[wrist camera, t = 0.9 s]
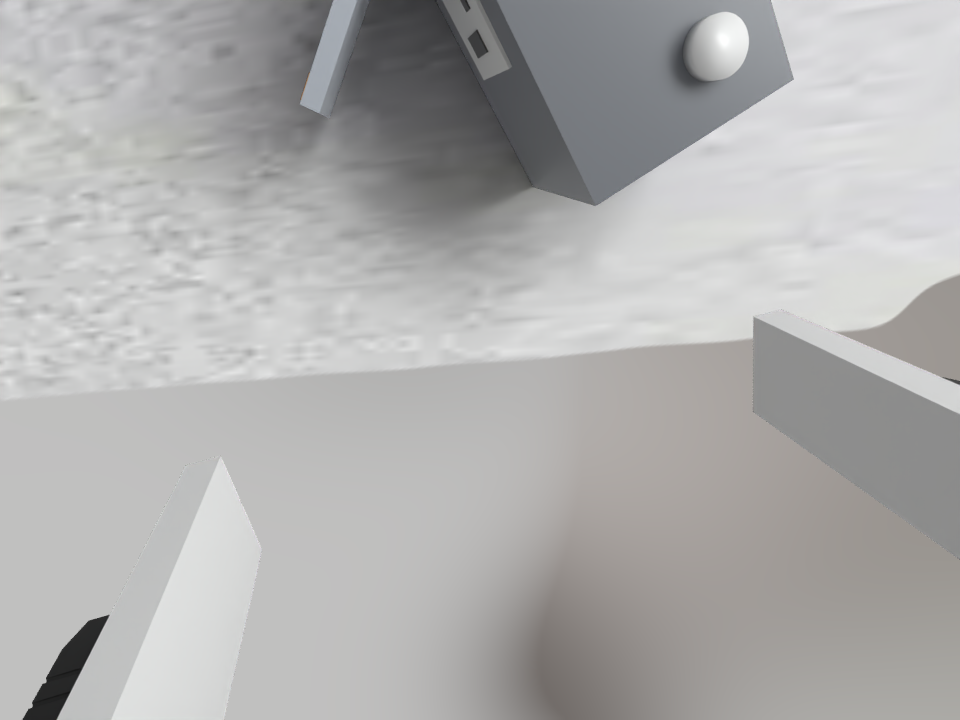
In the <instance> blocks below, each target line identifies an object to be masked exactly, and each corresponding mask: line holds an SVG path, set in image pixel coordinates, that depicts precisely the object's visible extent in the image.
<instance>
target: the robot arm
mask: <svg viewBox="0 0 960 720" xmlns="http://www.w3.org/2000/svg"><path fill="white" fill-rule="evenodd" d="M753 412H754V413H755V414H757V415H758V416H759V417H761V418H762V419H764V420H765V421H766V422H768V423H769V424H771V425H772V426H773V427H775V428H776V429H778V430H779V431H780V432H782V433H783V434H785V435H786V436H787V437H789V438H790V439H792V440H793V441H794V442H796V443H797V444H799V445H800V446H801V447H803V448H804V449H806V450H807V451H808V452H810V453H811V454H813V455H814V456H816V457H817V458H819V459H820V460H821V461H822V462H824V463H825V464H827V465H828V466H829V467H831V468H832V469H834V470H835V471H836V472H838V473H839V474H841V475H842V476H843V477H845V478H846V479H848V480H849V481H851V482H852V483H853V484H855V485H856V486H857V487H859V488H860V489H862V490H863V491H864V492H866V493H867V494H869V495H870V496H871V497H873V498H874V499H876V500H877V501H878V502H880V503H881V504H883V505H884V506H885V507H887V508H888V509H890V510H891V511H893V512H894V513H895V514H897V515H898V516H899V517H901V518H902V519H904V520H905V521H906V522H908V523H909V524H911V525H912V526H913V527H915V528H916V529H918V530H919V531H920V532H922V533H923V534H924V535H926V536H927V537H929V538H930V539H931V540H933V541H934V542H936V543H937V544H938V545H940V546H941V547H943V548H944V549H946V550H947V551H948V552H950V553H951V554H953V555H954V556H955V557H957V558H958V559H959V560H960V381H957V380H953V379H948V378H944V377H939V376H937V375H935V374H932V373H930V372H928V371H925V370H923V369H921V368H918V367H916V366H914V365H911V364H909V363H906V362H904V361H902V360H899V359H897V358H895V357H892V356H890V355H888V354H885V353H883V352H880V351H878V350H876V349H874V348H871V347H869V346H866V345H864V344H862V343H859V342H857V341H855V340H852V339H850V338H848V337H845V336H843V335H841V334H838V333H836V332H834V331H831V330H829V329H827V328H824V327H822V326H820V325H817V324H815V323H812V322H810V321H808V320H805V319H803V318H801V317H798V316H796V315H794V314H791V313H789V312H787V311H784V310H782V309H781V310H777V311H773V312H769V313H765V314H762V315H758V316H754V326H753ZM261 553H262V548H261V546H260V544H259V541H258V539H257V537H256V534H255V532H254V530H253V528H252V525H251V523H250V521H249V519H248V516H247V514H246V512H245V510H244V508H243V505H242V503H241V501H240V498H239V496H238V494H237V492H236V489H235V487H234V485H233V483H232V480H231V479H230V476H229V474H228V471H227V469H226V467H225V465H224V462H223V460H222V458H221V456H219V457H215V458H211V459H208V460H203V461H200V462H196V463H192V464H188V465H186V466H185V468H184V470H183V472H182V474H181V476H180V478H179V480H178V482H177V484H176V486H175V488H174V490H173V492H172V494H171V496H170V498H169V499H168V502H167V503H166V506H165V508H164V509H163V511H162V513H161V515H160V517H159V519H158V521H157V523H156V525H155V527H154V529H153V531H152V533H151V535H150V537H149V539H148V541H147V543H146V545H145V547H144V549H143V551H142V553H141V555H140V557H139V559H138V561H137V563H136V564H135V566H134V569H133V570H132V572H131V574H130V576H129V579H128V580H127V582H126V584H125V586H124V588H123V590H122V592H121V594H120V596H119V598H118V600H117V602H116V604H115V606H114V608H113V610H112V612H111V614H110V615H107V616H104V617H100V618H97V619H93V620H90V621H88V622H87V623H86V624H85V625H84V627H83V628H82V629H81V630H80V631H79V632H78V633H77V634H76V635H75V636H74V637H73V638H72V639H71V641H70V642H69V643H68V644H67V645H66V646H65V647H64V648H63V649H62V651H61V653H60V654H59V656H58V658H57V660H56V661H55V663H54V665H53V667H52V668H51V670H50V672H49V674H48V675H47V677H46V679H47V682H46V683H45V684H42V686H41V688H40V690H39V692H38V693H37V695H36V697H35V699H34V700H33V702H32V704H33V707H32V708H30V709H28V711H27V713H26V715H25V716H24V718H23V720H224V717H225V713H226V709H227V704H228V699H229V695H230V690H231V686H232V682H233V677H234V673H235V668H236V664H237V659H238V655H239V651H240V646H241V641H242V637H243V633H244V629H245V624H246V620H247V615H248V610H249V606H250V602H251V597H252V593H253V589H254V584H255V580H256V575H257V570H258V566H259V562H260V557H261Z"/></svg>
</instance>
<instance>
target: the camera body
mask: <svg viewBox="0 0 960 720" xmlns="http://www.w3.org/2000/svg"><path fill="white" fill-rule="evenodd" d="M436 2H437V4H438V6H439V8H440V10H441V12H442V13H443V15H444V17H445V19H446V21H447V23H448V25H449V27H450V29H451V31H452V33H453V35H454V36H455V38H456V40H457V42H458V44H459V46H460V48H461V50H462V52H463V54H464V56H465V57H466V59H467V61H468V63H469V65H470V67H471V69H472V71H473V73H474V75H475V77H476V78H477V80H478V82H479V84H480V86H481V88H482V90H483V92H484V94H485V96H486V98H487V99H488V101H489V103H490V105H491V107H492V109H493V111H494V113H495V115H496V117H497V119H498V120H499V122H500V124H501V126H502V128H503V130H504V132H505V134H506V136H507V138H508V140H509V141H510V143H511V145H512V147H513V149H514V151H515V153H516V155H517V157H518V159H519V161H520V162H521V164H522V166H523V168H524V170H525V172H526V174H527V176H528V178H529V180H530V182H531V183H532V185H533V187H535V188H538V189H541V190H545V191H548V192H551V193H555V194H558V195H561V196H565V197H568V198H571V199H575V200H578V201H581V202H584V203H588V204H591V205H594V206H596V205H598V204H599V203H601V202H603V201H604V200H606V199H607V198H609V197H610V196H612V195H614V194H615V193H617V192H618V191H620V190H621V189H623V188H624V187H626V186H628V185H629V184H631V183H632V182H634V181H635V180H637V179H639V178H640V177H642V176H643V175H645V174H646V173H648V172H650V171H651V170H653V169H654V168H656V167H657V166H659V165H660V164H662V163H664V162H665V161H667V160H668V159H670V158H671V157H673V156H675V155H676V154H678V153H679V152H681V151H682V150H684V149H686V148H687V147H689V146H690V145H692V144H693V143H695V142H696V141H698V140H700V139H701V138H703V137H704V136H706V135H707V134H709V133H711V132H712V131H714V130H715V129H717V128H718V127H720V126H721V125H723V124H725V123H726V122H728V121H729V120H731V119H732V118H734V117H736V116H737V115H739V114H740V113H742V112H743V111H745V110H747V109H748V108H750V107H751V106H753V105H754V104H756V103H757V102H759V101H761V100H762V99H764V98H765V97H767V96H768V95H770V94H772V93H773V92H775V91H776V90H778V89H779V88H781V87H783V86H784V85H786V84H787V83H789V82H790V81H792V80H793V79H794V78H793V75H792V71H791V68H790V65H789V61H788V58H787V54H786V51H785V47H784V44H783V41H782V37H781V34H780V30H779V27H778V23H777V20H776V17H775V13H774V10H773V6H772V3H771V0H436Z"/></svg>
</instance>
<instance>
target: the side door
mask: <svg viewBox="0 0 960 720" xmlns="http://www.w3.org/2000/svg"><path fill="white" fill-rule="evenodd" d="M369 1H370V0H333V3H332V6H331V9H330V12H329V15H328V18H327V21H326V25H325V28H324V31H323V34H322V37H321V40H320V43H319V46H318V49H317V52H316V55H315V59H314V62H313V65H312V68H311V71H310V72H309V74H308V77H307V80H306V83H305V87H304V90H303V93H302V96H301V99H300V100H301V102H300V105H302V106H304V107H306V108H308V109H310V110H312V111H314V112H316V113H318V114H321V115H323V116H325V117H327V118H329V119H330V116H331V113H332V110H333V107H334V104H335V101H336V98H337V95H338V92H339V89H340V86H341V83H342V80H343V77H344V74H345V71H346V69H347V66H348V63H349V60H350V57H351V54H352V51H353V48H354V45H355V42H356V39H357V36H358V33H359V30H360V27H361V24H362V21H363V18H364V15H365V13H366V10H367V7H368V4H369Z"/></svg>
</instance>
